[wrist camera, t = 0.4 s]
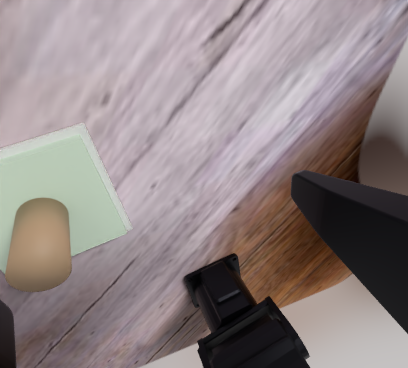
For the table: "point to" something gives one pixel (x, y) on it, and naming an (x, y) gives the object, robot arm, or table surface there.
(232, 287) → the robot arm
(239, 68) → the table surface
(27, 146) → the mat
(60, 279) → the lid
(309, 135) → the table surface
